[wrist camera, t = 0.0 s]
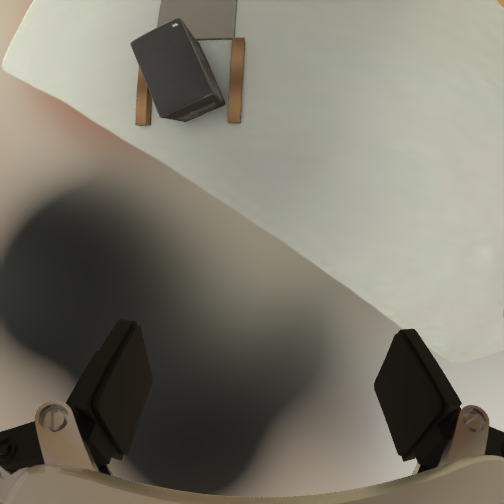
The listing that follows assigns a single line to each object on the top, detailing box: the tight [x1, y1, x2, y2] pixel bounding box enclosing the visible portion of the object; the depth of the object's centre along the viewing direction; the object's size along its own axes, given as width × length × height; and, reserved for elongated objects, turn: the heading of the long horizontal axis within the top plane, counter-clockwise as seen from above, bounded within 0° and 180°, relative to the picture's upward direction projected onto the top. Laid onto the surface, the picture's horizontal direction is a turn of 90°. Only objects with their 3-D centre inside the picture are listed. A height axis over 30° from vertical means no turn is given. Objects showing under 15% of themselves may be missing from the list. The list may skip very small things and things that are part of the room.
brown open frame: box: [136, 38, 245, 126], centre depth 32 cm, size 12×14×2 cm
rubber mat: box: [157, 0, 237, 40], centre depth 27 cm, size 13×11×1 cm
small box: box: [131, 18, 225, 122], centre depth 28 cm, size 11×6×10 cm, turn 22°
